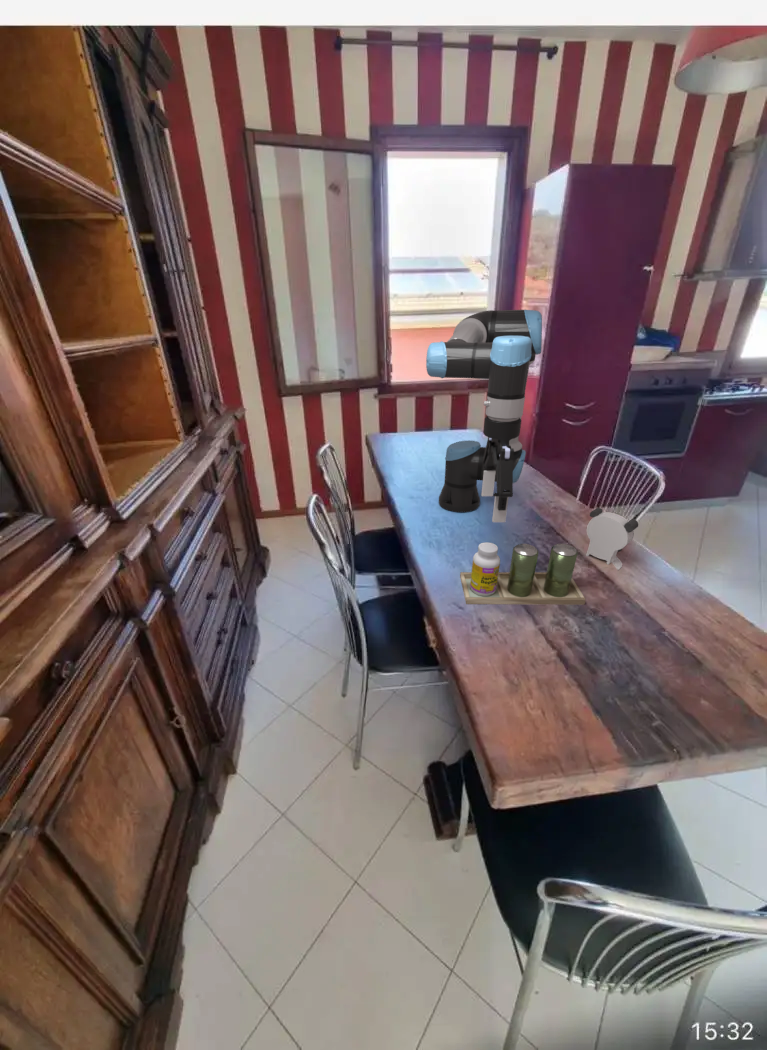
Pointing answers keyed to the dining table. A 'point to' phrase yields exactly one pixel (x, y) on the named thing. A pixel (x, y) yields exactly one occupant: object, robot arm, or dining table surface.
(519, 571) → the can
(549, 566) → the can
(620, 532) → the panda figurine
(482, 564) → the supplement bottle
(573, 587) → the caddy
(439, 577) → the dining table surface
